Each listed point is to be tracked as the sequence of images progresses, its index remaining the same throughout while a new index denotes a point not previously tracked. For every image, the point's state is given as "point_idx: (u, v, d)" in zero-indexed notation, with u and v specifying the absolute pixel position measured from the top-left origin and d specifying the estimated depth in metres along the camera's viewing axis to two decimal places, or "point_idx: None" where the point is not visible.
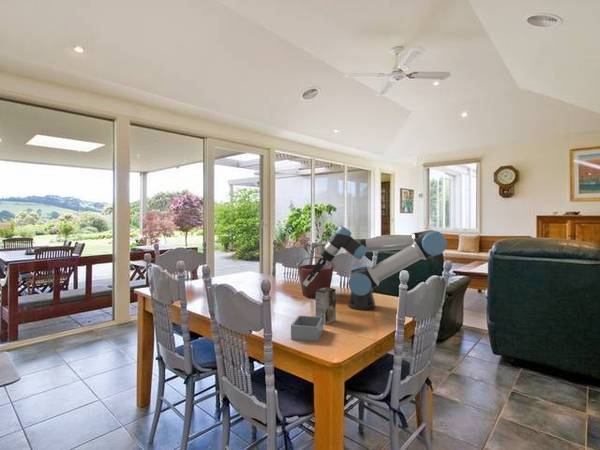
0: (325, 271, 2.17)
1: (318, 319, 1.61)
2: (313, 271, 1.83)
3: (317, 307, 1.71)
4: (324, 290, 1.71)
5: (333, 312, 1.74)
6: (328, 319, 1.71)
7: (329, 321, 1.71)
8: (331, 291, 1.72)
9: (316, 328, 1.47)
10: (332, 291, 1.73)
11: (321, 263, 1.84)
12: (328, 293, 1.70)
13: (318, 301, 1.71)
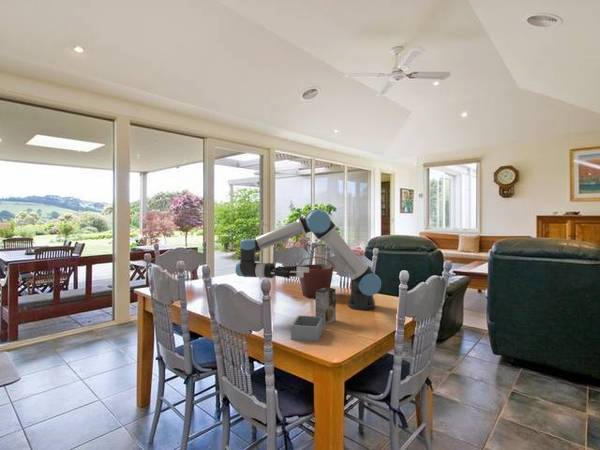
0: (325, 271, 2.17)
1: (318, 319, 1.61)
2: (282, 275, 1.68)
3: (317, 307, 1.71)
4: (324, 290, 1.71)
5: (333, 312, 1.74)
6: (328, 319, 1.71)
7: (329, 321, 1.71)
8: (331, 291, 1.72)
9: (316, 328, 1.47)
10: (332, 291, 1.73)
11: (273, 272, 1.72)
12: (328, 293, 1.70)
13: (318, 301, 1.71)
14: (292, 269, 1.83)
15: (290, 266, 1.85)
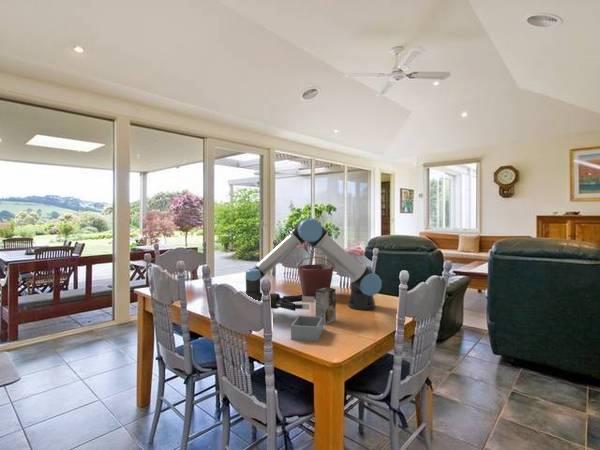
0: (325, 271, 2.17)
1: (318, 319, 1.61)
2: (288, 307, 1.68)
3: (317, 307, 1.71)
4: (324, 290, 1.71)
5: (333, 312, 1.74)
6: (328, 319, 1.71)
7: (329, 321, 1.71)
8: (331, 291, 1.72)
9: (316, 328, 1.47)
10: (332, 291, 1.73)
11: (279, 304, 1.72)
12: (328, 293, 1.70)
13: (318, 301, 1.71)
14: (297, 299, 1.83)
15: None
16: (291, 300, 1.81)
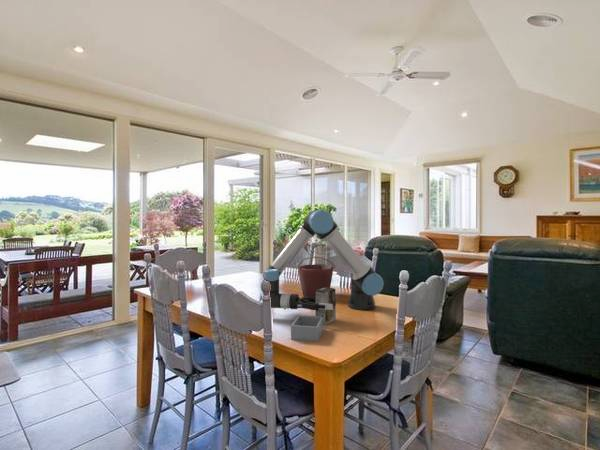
0: (325, 271, 2.17)
1: (318, 319, 1.61)
2: (311, 308, 1.67)
3: None
4: (324, 290, 1.71)
5: (333, 312, 1.74)
6: (328, 319, 1.71)
7: (329, 321, 1.71)
8: (331, 291, 1.72)
9: (316, 328, 1.47)
10: (332, 291, 1.73)
11: (300, 304, 1.70)
12: (328, 293, 1.70)
13: (318, 301, 1.71)
14: None
15: None
16: (311, 301, 1.78)
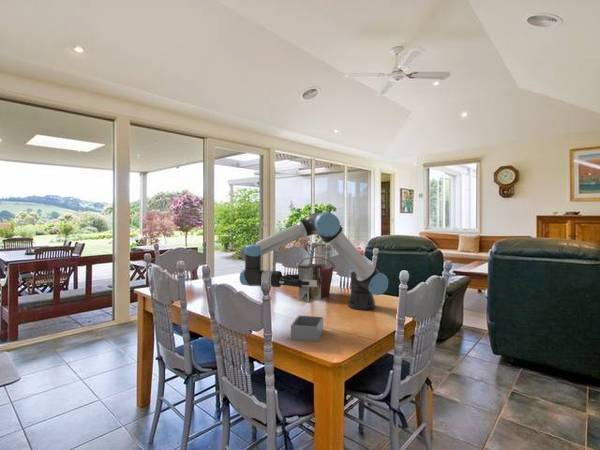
0: (325, 271, 2.17)
1: (318, 319, 1.61)
2: (294, 284, 1.54)
3: None
4: (308, 266, 1.58)
5: (318, 290, 1.61)
6: (312, 297, 1.58)
7: (313, 300, 1.58)
8: (316, 267, 1.59)
9: (316, 328, 1.47)
10: (317, 267, 1.60)
11: (282, 281, 1.57)
12: (312, 269, 1.57)
13: (302, 278, 1.58)
14: None
15: None
16: (294, 279, 1.65)
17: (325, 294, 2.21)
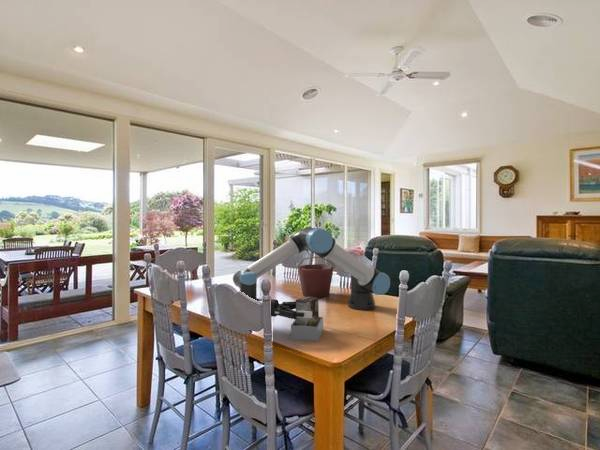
0: (325, 271, 2.17)
1: None
2: (288, 316, 1.48)
3: (297, 319, 1.53)
4: (305, 300, 1.53)
5: (316, 324, 1.55)
6: None
7: None
8: (313, 301, 1.53)
9: (316, 328, 1.47)
10: (314, 301, 1.54)
11: (278, 311, 1.51)
12: (310, 303, 1.51)
13: None
14: None
15: None
16: (291, 307, 1.60)
17: (325, 294, 2.21)
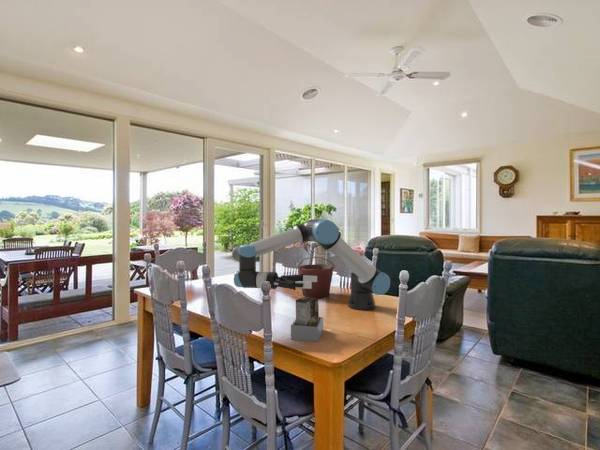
0: (325, 271, 2.17)
1: None
2: (288, 286, 1.47)
3: (297, 319, 1.53)
4: (305, 300, 1.53)
5: (316, 324, 1.55)
6: None
7: None
8: (313, 301, 1.53)
9: (316, 328, 1.47)
10: (314, 301, 1.54)
11: (277, 282, 1.50)
12: (310, 303, 1.51)
13: (299, 313, 1.52)
14: (298, 278, 1.61)
15: (295, 275, 1.64)
16: (291, 279, 1.60)
17: (325, 294, 2.21)
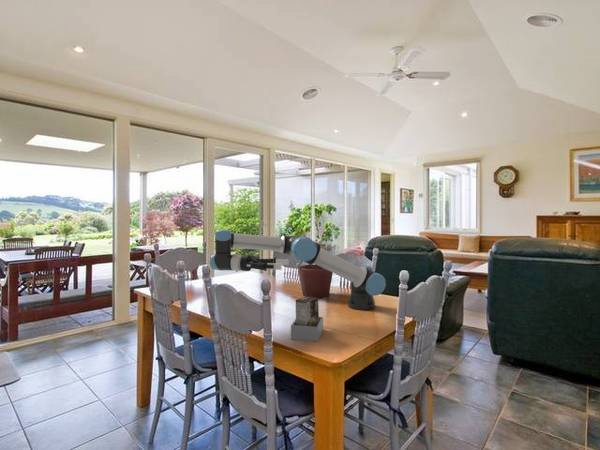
0: (325, 271, 2.17)
1: None
2: (259, 267, 1.56)
3: (297, 319, 1.53)
4: (305, 300, 1.53)
5: (316, 324, 1.55)
6: None
7: None
8: (313, 301, 1.53)
9: (316, 328, 1.47)
10: (314, 301, 1.54)
11: (249, 264, 1.59)
12: (310, 303, 1.51)
13: (299, 313, 1.52)
14: (271, 261, 1.70)
15: None
16: (264, 262, 1.69)
17: (325, 294, 2.21)
